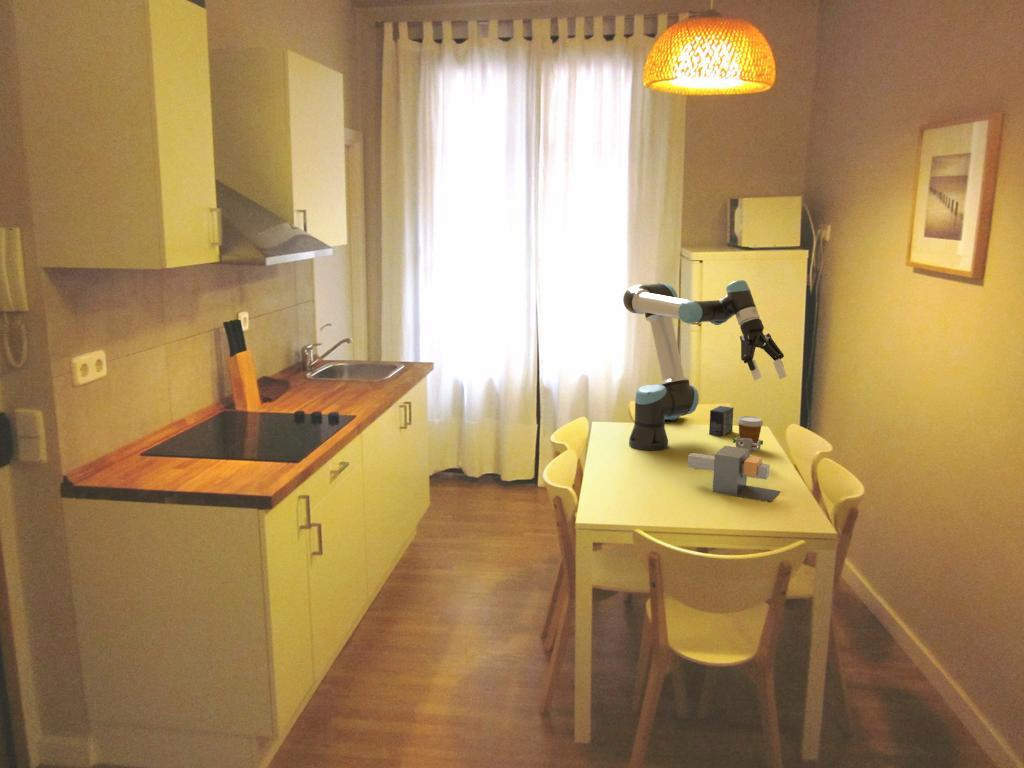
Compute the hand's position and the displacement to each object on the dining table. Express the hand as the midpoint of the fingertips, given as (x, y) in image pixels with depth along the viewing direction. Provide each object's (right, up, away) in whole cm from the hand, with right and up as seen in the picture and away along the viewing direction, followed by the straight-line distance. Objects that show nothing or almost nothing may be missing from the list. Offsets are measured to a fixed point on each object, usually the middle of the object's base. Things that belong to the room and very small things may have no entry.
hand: (770, 378), depth 291 cm
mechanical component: (-4, -32, +16) cm, 36 cm away
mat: (-9, -38, -14) cm, 42 cm away
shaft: (-18, -31, -11) cm, 37 cm away
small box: (-2, -23, +62) cm, 66 cm away
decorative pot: (-22, -18, +85) cm, 89 cm away
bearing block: (-17, -37, -10) cm, 42 cm away
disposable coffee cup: (+3, -27, +39) cm, 47 cm away
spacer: (-11, -31, -15) cm, 36 cm away
